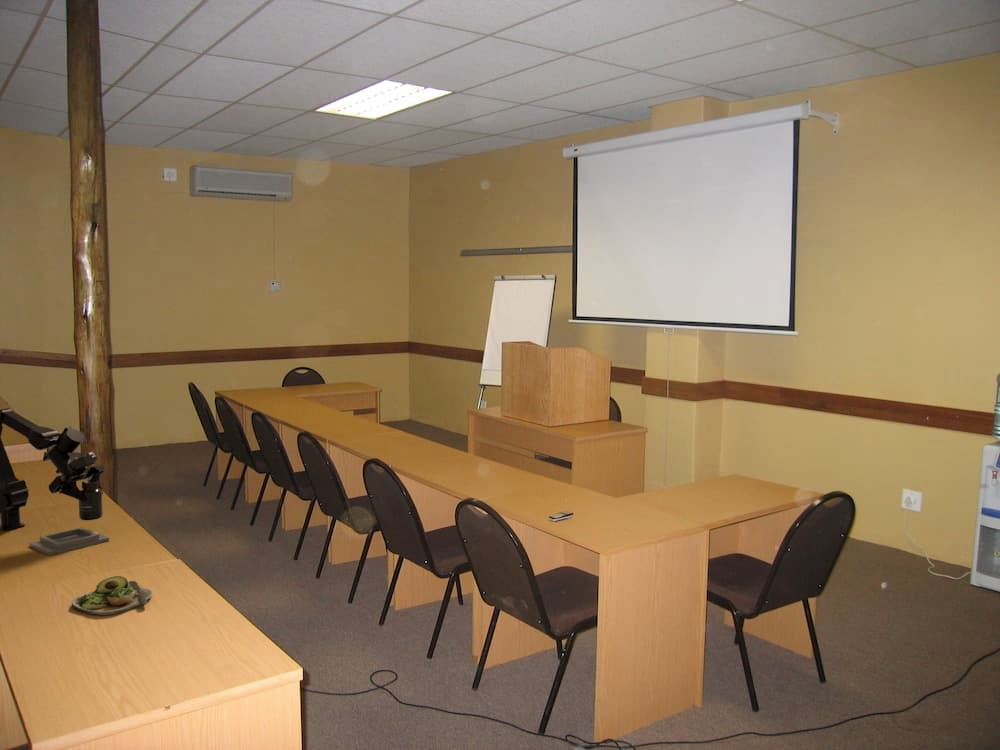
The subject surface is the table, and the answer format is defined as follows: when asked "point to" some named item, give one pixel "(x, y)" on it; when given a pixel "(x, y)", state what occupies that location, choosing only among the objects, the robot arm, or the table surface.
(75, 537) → the grey recessed tray
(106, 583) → the salad plate
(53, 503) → the table surface
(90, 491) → the supplement bottle
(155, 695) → the table surface
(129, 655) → the table surface
